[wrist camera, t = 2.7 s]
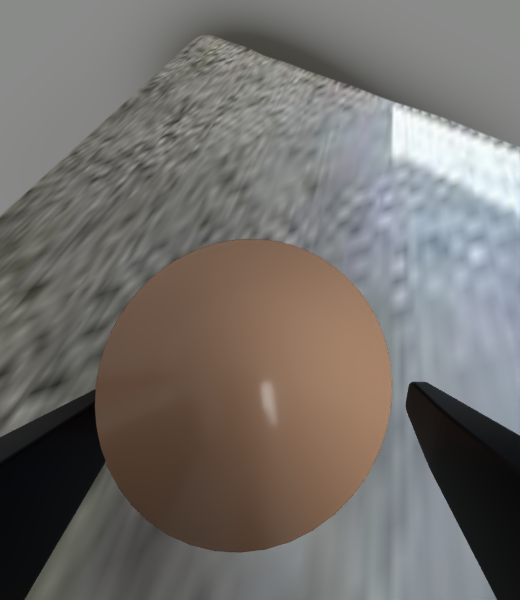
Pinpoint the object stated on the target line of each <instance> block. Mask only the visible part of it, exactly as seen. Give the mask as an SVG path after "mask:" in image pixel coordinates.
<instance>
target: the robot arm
mask: <svg viewBox="0 0 520 600" xmlns="http://www.w3.org/2000/svg"><path fill="white" fill-rule="evenodd" d="M95 393H96V389H95V390H93V391H91V392H89V393H87V394H85V395H83V396H81V397H79V398H77V399H75V400H73V401H71V402H69V403H67V404H65V405H63V406H61V407H59V408H57V409H55V410H53V411H51V412H50V413H48V414H46V415H44V416H42V417H40V418H38V419H36V420H34V421H32V422H30V423H28V424H26V425H24V426H22V427H20V428H18V429H16V430H14V431H12V432H10V433H8V434H6V435H4V436H2V437H0V600H25V598H26V596H27V594H28V593H29V591H30V589H31V588H32V586H33V584H34V583H35V581H36V579H37V577H38V576H39V574H40V572H41V571H42V569H43V567H44V566H45V564H46V562H47V560H48V559H49V557H50V555H51V554H52V552H53V550H54V549H55V547H56V545H57V543H58V542H59V540H60V538H61V537H62V535H63V533H64V531H65V530H66V528H67V526H68V525H69V523H70V521H71V520H72V518H73V516H74V514H75V513H76V511H77V509H78V508H79V506H80V504H81V503H82V501H83V499H84V497H85V496H86V494H87V492H88V491H89V489H90V487H91V486H92V484H93V482H94V480H95V479H96V477H97V475H98V474H99V472H100V470H101V469H102V467H103V465H104V463H105V462H106V461H105V458H104V455H103V452H102V450H101V446H100V441H99V437H98V432H97V427H96V415H95ZM406 410H407V413H408V416H409V418H410V421H411V423H412V426H413V428H414V431H415V433H416V436H417V438H418V441H419V443H420V446H421V448H422V451H423V453H424V456H425V458H426V461H427V463H428V465H429V468H430V470H431V472H432V474H433V476H434V478H435V480H436V482H437V484H438V486H439V487H440V489H441V491H442V493H443V495H444V497H445V499H446V501H447V503H448V505H449V507H450V509H451V511H452V513H453V515H454V517H455V519H456V521H457V523H458V524H459V526H460V528H461V530H462V532H463V534H464V536H465V538H466V540H467V542H468V544H469V546H470V548H471V550H472V552H473V554H474V556H475V558H476V559H477V561H478V563H479V565H480V567H481V569H482V571H483V573H484V575H485V577H486V579H487V581H488V583H489V585H490V587H491V589H492V591H493V593H494V594H495V596H496V598H497V600H520V435H518V434H516V433H514V432H513V431H511V430H509V429H507V428H506V427H504V426H502V425H500V424H499V423H497V422H495V421H493V420H492V419H490V418H488V417H486V416H485V415H483V414H481V413H479V412H478V411H476V410H474V409H472V408H471V407H469V406H467V405H466V404H464V403H462V402H460V401H459V400H457V399H455V398H453V397H452V396H450V395H448V394H446V393H445V392H443V391H441V390H439V389H438V388H436V387H434V386H432V385H431V384H429V383H427V382H411V383H410V384H409V388H408V393H407V399H406Z"/></svg>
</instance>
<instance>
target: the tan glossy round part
mask: <svg viewBox="0 0 520 600" xmlns="http://www.w3.org/2000/svg"><path fill="white" fill-rule="evenodd" d="M391 399H392V376H391V365H390V359H389V354H388V350H387V346H386V341H385V338H384V336H383V333H382V330H381V328H380V325H379V322H378V321H377V319H376V317H375V315H374V313H373V311H372V309H371V307H370V306H369V304H368V303H367V301H366V300H365V298H364V297H363V296H362V294H361V293H360V291H359V290H358V289H357V288H356V287H355V286H354V285H353V283H352V282H351V281H350V280H349V279H348V278H347V277H346V276H345V275H343V274H342V273H341V272H340V271H339V270H338V269H337V268H335V267H334V266H333V265H331V264H330V263H328V262H327V261H325V260H324V259H322V258H320V257H318V256H317V255H315V254H313V253H311V252H309V251H307V250H304V249H301V248H299V247H296V246H293V245H290V244H286V243H282V242H278V241H270V240H263V239H242V240H232V241H226V242H221V243H216V244H213V245H210V246H206V247H203V248H201V249H198V250H196V251H193V252H191V253H189V254H187V255H185V256H183V257H181V258H179V259H177V260H176V261H174V262H172V263H171V264H169V265H168V266H166V267H165V268H163V269H162V270H161V271H160V272H158V273H157V274H156V275H155V276H153V277H152V278H151V279H150V280H149V281H148V282H147V283H146V284H145V285H144V286H143V287H142V288H141V289H140V290H139V291H138V292H137V293H136V295H135V296H134V297H133V298H132V299H131V301H130V302H129V303H128V305H127V306H126V308H125V309H124V311H123V312H122V314H121V315H120V317H119V318H118V320H117V322H116V324H115V326H114V328H113V330H112V331H111V334H110V336H109V338H108V341H107V343H106V346H105V348H104V351H103V355H102V359H101V362H100V366H99V370H98V376H97V382H96V393H95V415H96V427H97V432H98V437H99V441H100V446H101V450H102V452H103V455H104V458H105V461H106V464H107V466H108V469H109V471H110V472H111V474H112V476H113V478H114V480H115V482H116V484H117V486H118V488H119V489H120V490H121V492H122V493H123V494H124V496H125V497H126V498H127V500H128V501H129V502H130V504H131V505H132V506H133V507H134V508H135V509H136V510H137V511H138V512H139V513H140V514H141V515H142V516H143V517H144V518H145V519H146V520H147V521H149V522H150V523H151V524H153V525H154V526H156V527H157V528H159V529H160V530H162V531H163V532H165V533H166V534H168V535H169V536H172V537H174V538H176V539H178V540H180V541H183V542H185V543H187V544H189V545H193V546H197V547H201V548H205V549H209V550H213V551H224V552H248V551H256V550H265V549H268V548H271V547H275V546H278V545H281V544H285V543H288V542H291V541H293V540H295V539H297V538H299V537H301V536H303V535H305V534H306V533H308V532H310V531H312V530H314V529H315V528H317V527H318V526H319V525H321V524H322V523H324V522H325V521H326V520H328V519H329V518H330V517H332V516H333V515H334V514H335V513H336V512H337V511H338V510H339V509H340V508H341V507H342V506H343V505H344V504H345V503H346V502H347V501H348V500H349V499H350V498H351V497H352V496H353V495H354V493H355V492H356V491H357V489H358V488H359V486H360V485H361V484H362V482H363V481H364V479H365V478H366V477H367V475H368V473H369V471H370V469H371V467H372V465H373V463H374V461H375V460H376V458H377V456H378V454H379V451H380V448H381V445H382V442H383V439H384V436H385V433H386V430H387V426H388V421H389V415H390V410H391Z"/></svg>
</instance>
